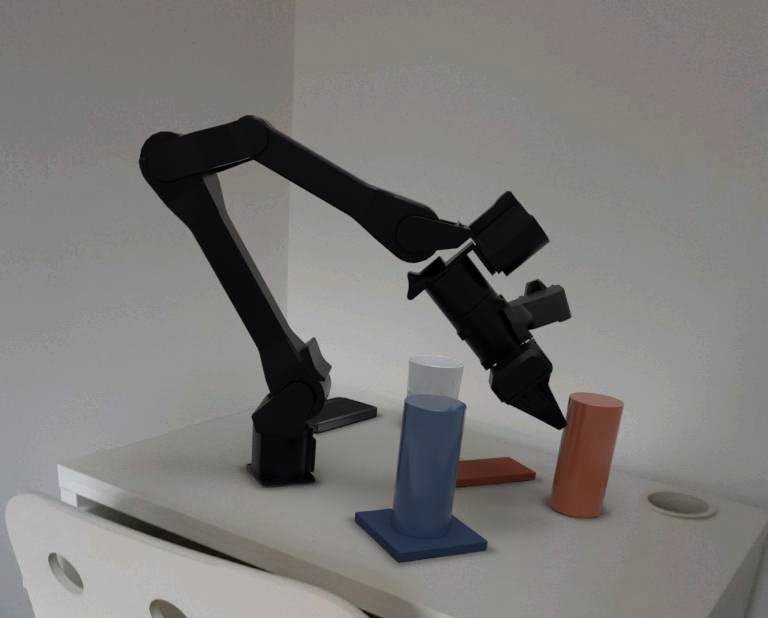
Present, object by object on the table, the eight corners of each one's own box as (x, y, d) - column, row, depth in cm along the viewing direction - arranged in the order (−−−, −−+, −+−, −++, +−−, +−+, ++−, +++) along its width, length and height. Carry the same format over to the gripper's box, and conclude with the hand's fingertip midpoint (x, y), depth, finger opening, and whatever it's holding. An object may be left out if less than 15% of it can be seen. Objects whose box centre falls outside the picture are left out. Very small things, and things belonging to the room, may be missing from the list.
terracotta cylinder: (571, 520, 91) (593, 408, 86) (538, 500, 95) (558, 393, 91) (612, 515, 93) (635, 406, 88) (578, 496, 98) (599, 391, 93)
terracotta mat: (454, 487, 97) (455, 479, 96) (429, 470, 102) (430, 462, 101) (535, 479, 102) (536, 472, 102) (508, 463, 107) (509, 456, 107)
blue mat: (398, 562, 76) (399, 552, 76) (354, 520, 85) (355, 511, 84) (486, 550, 81) (488, 541, 81) (436, 511, 89) (437, 503, 89)
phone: (380, 407, 122) (315, 425, 110) (379, 415, 122) (314, 433, 111) (339, 396, 126) (272, 411, 114) (339, 403, 126) (272, 419, 115)
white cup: (456, 438, 115) (466, 369, 111) (401, 433, 115) (409, 363, 111) (453, 423, 122) (462, 357, 119) (401, 418, 122) (408, 352, 119)
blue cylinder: (408, 541, 79) (423, 412, 74) (380, 517, 83) (393, 394, 79) (460, 535, 81) (478, 410, 77) (430, 511, 86) (446, 393, 81)
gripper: (545, 264, 76) (639, 391, 80) (523, 248, 93) (600, 353, 97) (451, 340, 79) (545, 458, 83) (446, 310, 96) (524, 410, 100)
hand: (556, 415), depth 90 cm, fingers open, 9 cm apart
